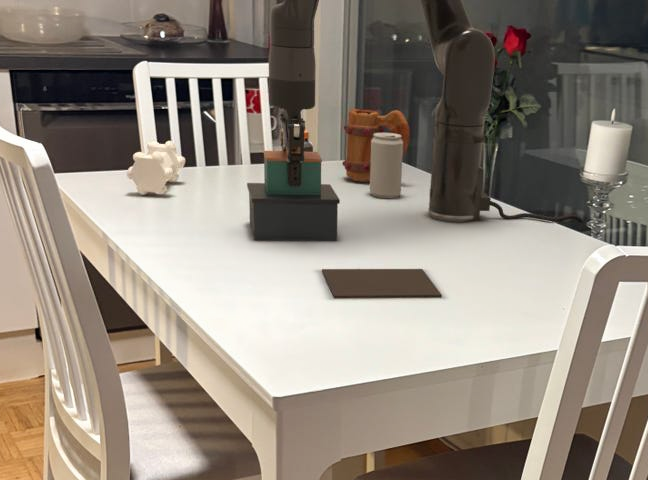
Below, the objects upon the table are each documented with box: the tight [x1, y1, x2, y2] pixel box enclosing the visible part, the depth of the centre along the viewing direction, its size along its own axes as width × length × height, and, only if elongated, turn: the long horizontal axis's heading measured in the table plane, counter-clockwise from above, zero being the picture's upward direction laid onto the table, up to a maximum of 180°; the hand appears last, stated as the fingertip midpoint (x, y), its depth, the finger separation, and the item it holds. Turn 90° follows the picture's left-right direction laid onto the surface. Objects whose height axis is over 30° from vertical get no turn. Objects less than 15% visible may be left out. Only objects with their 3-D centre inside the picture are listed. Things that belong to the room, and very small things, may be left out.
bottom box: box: [246, 182, 341, 241], centre depth 168 cm, size 15×12×7 cm
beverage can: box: [369, 132, 404, 199], centre depth 197 cm, size 6×6×12 cm
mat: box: [321, 268, 443, 299], centre depth 147 cm, size 16×13×1 cm
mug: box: [342, 108, 411, 183], centre depth 207 cm, size 15×8×15 cm, turn 72°
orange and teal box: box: [262, 150, 323, 195], centre depth 165 cm, size 9×6×6 cm
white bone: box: [126, 140, 186, 196], centre depth 190 cm, size 15×9×8 cm, turn 1°
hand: (292, 181), depth 166 cm, fingers closed on orange and teal box, 6 cm apart
